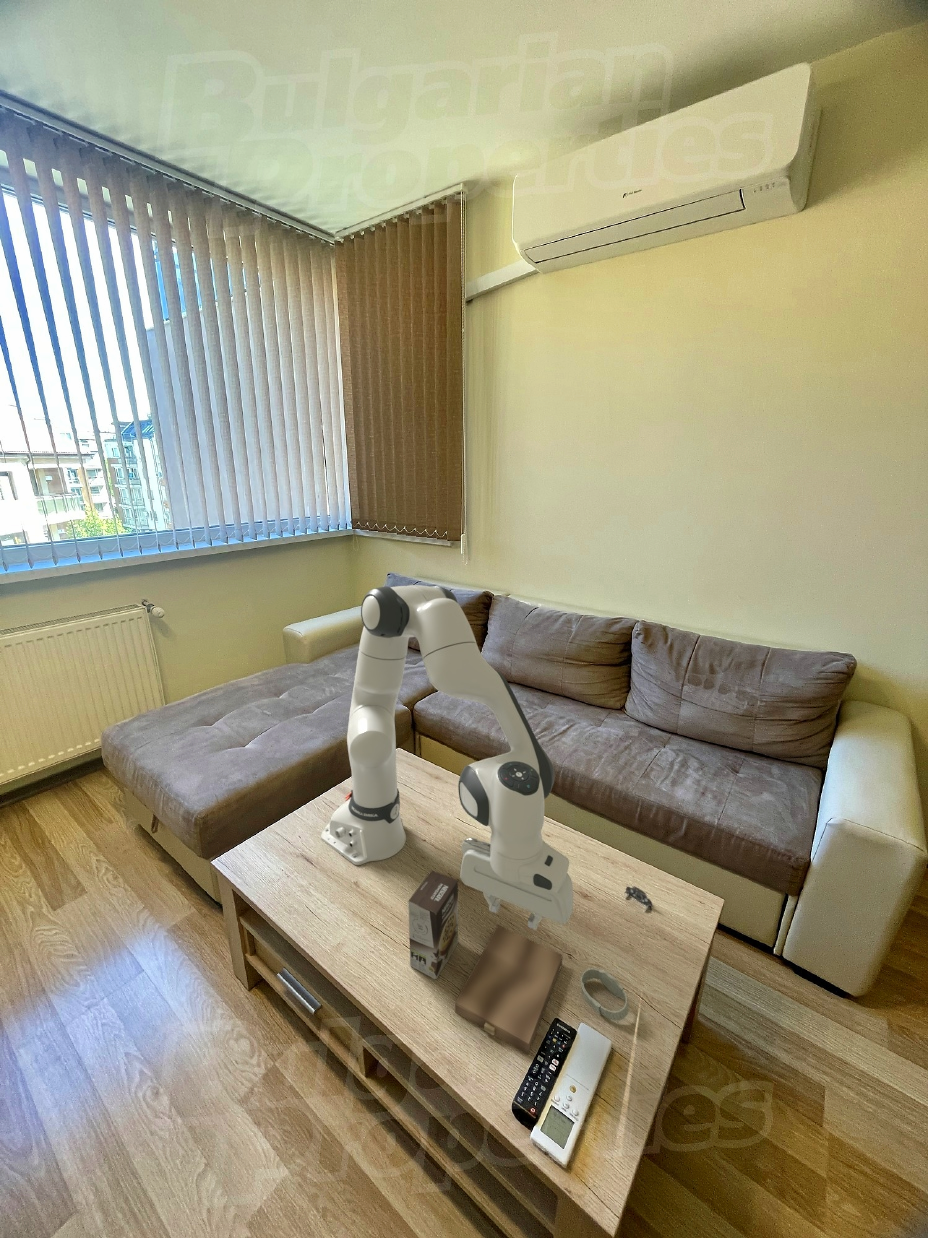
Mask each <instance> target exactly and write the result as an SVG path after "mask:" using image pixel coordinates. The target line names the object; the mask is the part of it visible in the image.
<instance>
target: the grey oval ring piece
mask: <svg viewBox="0 0 928 1238" xmlns="http://www.w3.org/2000/svg"><path fill="white" fill-rule="evenodd" d="M593 979H594V980H598V981H600V982H601V983H602V984H603V985H604V987H605V988H606V989H607V990H608V991H609V992H610V993H612V994H613V995H614V996H615V997H616V998H621V999H622V1000H624V1001H625V1004H624V1006H623V1007H622V1008H621V1009H619V1010H616V1011H615V1010H609V1009H607V1008H606V1007H603V1006H602V1005H601V1004H600V1003H599V1002H598V1001H597V1000H596V999H595V998H594V997H592V996H591V995H590V994H589V993H588V991H587V990H586V988H585V985H586V983H587V982H588V981H589V980H593ZM580 986H581V990H582V994H583V996H584V999H585V1000H586V1002H587V1004H588V1005H590V1007H591V1008H592V1009H593V1010H594V1011H595V1012H596V1013H597V1014H598V1015H599V1016H604V1017H605V1018H607V1019H609V1020H612V1021H622V1020H624V1019H625V1018H626V1017H627V1016H628V1015H629V1009H630V1008H629V1002H628V1001H629V1000H628V997H627V994H626V991H625V990H624V987H623V986H622V984H621V983H620V982H619V980H618V979H617V978H615V977H614V976H613V975H611V974H610V973H609V972H608V971H606V970H605V969H601V968H594V967H593V968H592V967H590V968H587V969H586V970H584V972H583V973H582V974H581V975H580Z"/></svg>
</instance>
